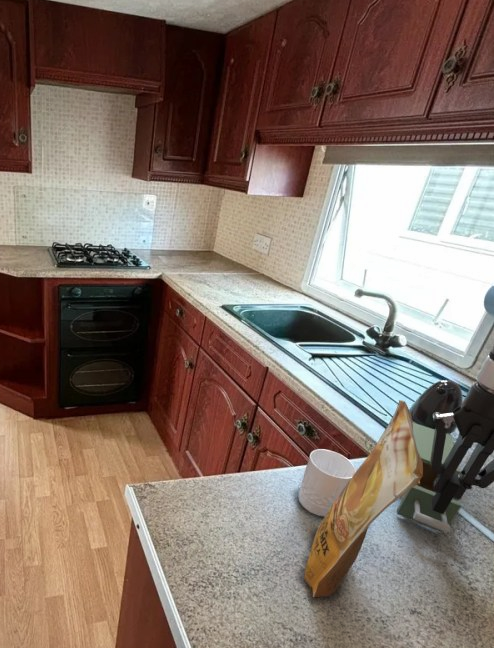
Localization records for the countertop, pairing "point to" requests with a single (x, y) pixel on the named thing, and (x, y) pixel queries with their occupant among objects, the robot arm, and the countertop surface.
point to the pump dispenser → (437, 403)
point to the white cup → (324, 480)
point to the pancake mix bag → (364, 503)
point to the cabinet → (430, 444)
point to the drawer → (427, 504)
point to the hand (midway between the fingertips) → (437, 507)
